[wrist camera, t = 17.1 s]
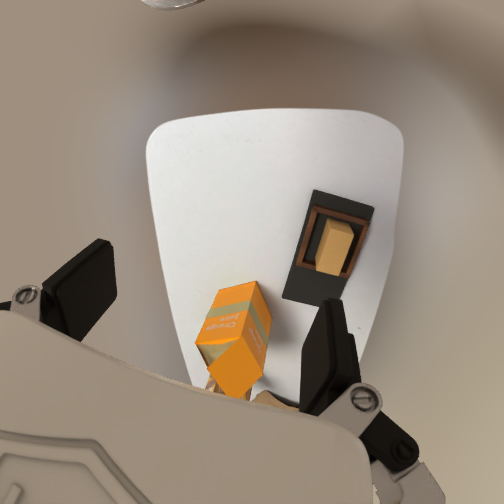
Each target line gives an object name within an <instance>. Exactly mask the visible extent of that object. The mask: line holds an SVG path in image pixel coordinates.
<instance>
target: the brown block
mask: <svg viewBox="0 0 504 504" xmlns="http://www.w3.org/2000/svg"><path fill="white" fill-rule="evenodd" d="M353 237H354V234H353V231H352V229H351V227H350V225H349V224H347V223H344V222H340V221H337V220H333V219H330V218H328V219H327V222H326V225H325V228H324V231H323V235H322V238H321V241H320V244H319V247H318V250H317V253H316V256H315V261H316V271H320V272H324V273H328V274H332V275H336V276H339V273H340V271H341V268H342V266H343V263H344V261H345V258H346V255H347V253H348V250H349V248H350V245H351V242H352V239H353Z"/></svg>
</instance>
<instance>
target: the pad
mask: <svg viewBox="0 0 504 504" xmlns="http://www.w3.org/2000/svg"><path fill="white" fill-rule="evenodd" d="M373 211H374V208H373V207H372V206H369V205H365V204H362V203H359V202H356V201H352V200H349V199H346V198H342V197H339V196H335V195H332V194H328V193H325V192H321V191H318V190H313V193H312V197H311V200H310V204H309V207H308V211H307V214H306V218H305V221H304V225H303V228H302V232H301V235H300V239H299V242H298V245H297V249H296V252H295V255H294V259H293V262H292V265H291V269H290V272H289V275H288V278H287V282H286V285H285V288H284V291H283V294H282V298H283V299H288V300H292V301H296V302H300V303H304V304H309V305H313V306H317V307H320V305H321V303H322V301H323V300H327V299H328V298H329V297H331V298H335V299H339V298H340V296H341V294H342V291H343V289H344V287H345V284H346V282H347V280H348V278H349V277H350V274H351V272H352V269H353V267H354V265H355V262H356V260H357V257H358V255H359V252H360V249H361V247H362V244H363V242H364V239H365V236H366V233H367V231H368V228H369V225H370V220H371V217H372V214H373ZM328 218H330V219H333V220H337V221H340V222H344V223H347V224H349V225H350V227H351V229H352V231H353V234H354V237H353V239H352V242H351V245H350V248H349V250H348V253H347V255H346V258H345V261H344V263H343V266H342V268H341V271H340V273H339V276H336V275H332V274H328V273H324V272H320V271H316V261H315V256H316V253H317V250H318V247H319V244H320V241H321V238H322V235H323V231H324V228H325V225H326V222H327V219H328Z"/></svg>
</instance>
